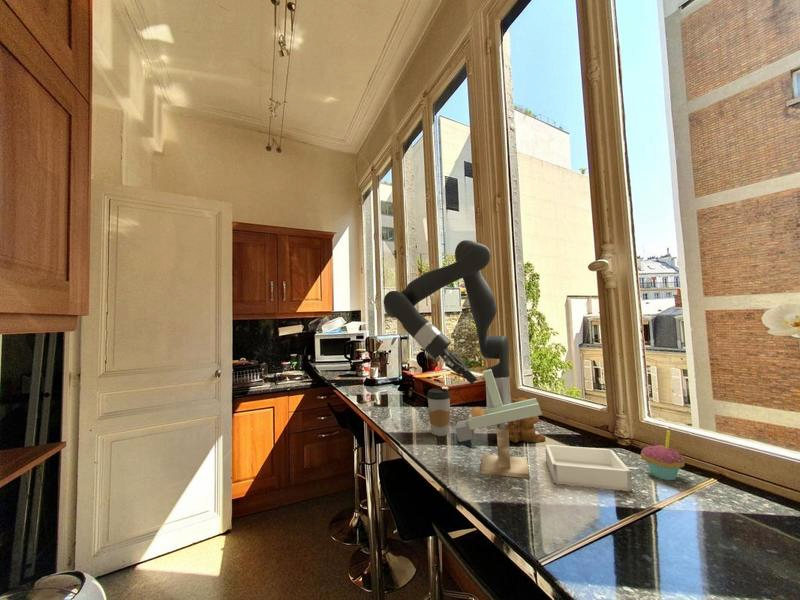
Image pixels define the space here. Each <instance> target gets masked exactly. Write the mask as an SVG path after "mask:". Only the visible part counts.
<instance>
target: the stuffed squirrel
mask: <svg viewBox="0 0 800 600" xmlns="http://www.w3.org/2000/svg"><path fill="white" fill-rule="evenodd" d="M524 400H529V398H526V397H518V398H517V399H516V398H515V397H514V398H513V397H511V403H516V402H520V401H524ZM539 421H540V419H539V416H534V417H529V418H524V419H519V420H515V421H510V422H505V423H508V429H509V442H512V443H515V444H516V443H518V442H520V441H522V442H526V443H540V442H545V441H546V436H545V435H543V434H541V433H540V434H538V433H536V428H535V426H534V425H535V424H537V423H538V422H539Z"/></svg>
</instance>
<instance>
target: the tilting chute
mask: <svg viewBox="0 0 800 600" xmlns="http://www.w3.org/2000/svg"><path fill="white" fill-rule="evenodd" d="M482 374H483V377H484V381H485V385H486V384H487V387H488V390H489V393H490V396H491V400H492V403H493V406H494V407H493V408H489V409H487V408H486V409H485V408H484V409H482V410H483V411H484V415H481V416H477V417H472V415H471V413H469V416H468V418H467V419H462V420H458V421H457V423H456V425H455V428H454V429H455V430H454V431H455V433H456V436H457V440H458V442H459V443H460V442H464V441H465V442H466V441H471V440H474V436H475V433H476V431H475V429H479V428H480V429H481V428H485V427H491V426H494V425H497V424H500V429H502V430H503V429H505V422H510V421H515V420H519V419H524V418H529V417H534V416H538V417H539V416H542V415H543V413H542V410H541V407H540V403H539V402H538V400H537V397H534V398H530V399H529V398H528V400H524V401H520V402H516V403H513V402H511V404H507V405H503V404H502V401H501V398H500V395H499V392H498V389H497V386H496V382H495V379H494V376H493V373H492V370H491V369H489V370H486V369H485V370H483V371H482Z"/></svg>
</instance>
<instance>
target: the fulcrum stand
mask: <svg viewBox="0 0 800 600" xmlns="http://www.w3.org/2000/svg"><path fill="white" fill-rule="evenodd" d="M496 441H497V443H496V444H497V454H486V453H482V455H481V464H480V474H484V475H491V476H492V475H493V476H503V477H514V478H522V479H530V478H531V475H530V474H531V473H530V469H529V465H528V460H527V457H521V456H520V457H519V456H511V454H510V453H511V451H510V440H509V429H508V423H505V429H503V430H502V429H500V424H496Z"/></svg>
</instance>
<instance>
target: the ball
mask: <svg viewBox="0 0 800 600" xmlns="http://www.w3.org/2000/svg"><path fill="white" fill-rule="evenodd" d="M483 410H484V409H483V408H482V407H479V406H475V407H473V408H472V409H471V412H470V414H471V415H472V417H477V416H481V415H484V411H483Z"/></svg>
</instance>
